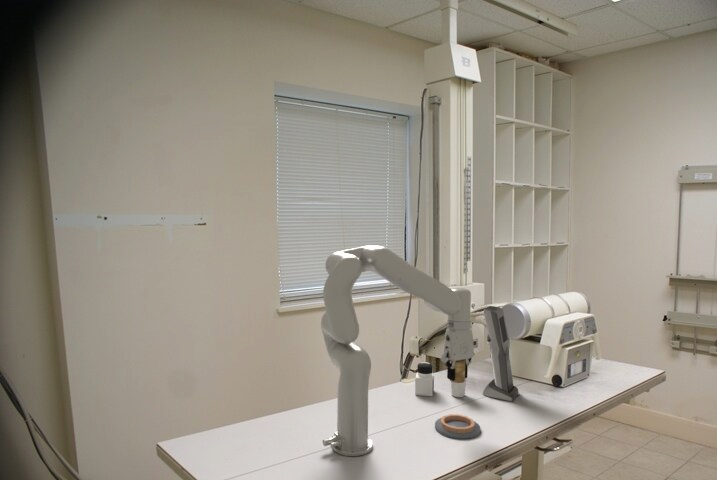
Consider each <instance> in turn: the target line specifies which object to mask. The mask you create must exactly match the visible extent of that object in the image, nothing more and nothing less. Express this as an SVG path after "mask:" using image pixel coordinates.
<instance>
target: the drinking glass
mask: <svg viewBox="0 0 717 480" xmlns="http://www.w3.org/2000/svg"><path fill="white" fill-rule="evenodd" d="M450 385H451V388H450V389H451V391H450V392H451V396H453V397H455V398H464V397H465V395H466V385H467V378H465V382H463V383H455V382H451V381H450Z"/></svg>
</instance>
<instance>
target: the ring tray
mask: <svg viewBox="0 0 717 480" xmlns="http://www.w3.org/2000/svg"><path fill="white" fill-rule="evenodd" d="M434 429H435V431H436V432H437V433H439V434H440V435H442V436H444V437H447V438H450V439H454V440H456V439H457V440H470V439H474V438H476V437H478V436H479V435H480V434H481V426H480V424H479V423H478V422H476V421H475V420H473V419H472V418H471V417H469V416H466V415H463V414H457V413H456V414H447V415H444V416H442V417H440V418H437V420H436V421H435V422H434Z"/></svg>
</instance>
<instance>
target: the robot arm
mask: <svg viewBox="0 0 717 480" xmlns="http://www.w3.org/2000/svg"><path fill="white" fill-rule="evenodd" d="M325 270H326V272H327V274H328V276H327V278H326V280H325V282H324V285H323V290H322V297H323V302H324V307H325V312H324V313H323V315H322V317H321V321H320V325H321V326H320V327H321V333H322V336H323V340H324V343H325V348H326V352H327V354H328V357H329V360H330V362H331V363H332V365H334V366H335V368H336V369H337V370H338V371H339V378H338V383H337V392H336V394H337V396H336V397H337V410H336V411H337V412H336V413H337V419H336V420H337V421H336V426H337V427H336V428H337V430H336V431H334V432H333V435H332V436H331V437H330V438H329V437H327V438H324V439H322V444H323V446H324V447H327V446H330V448H332V450H333V451H334V452H336V453H337V454H339V455H342V456H345V457H359V456H364V455H366V454H368V453H369V452H371V450H372V449H373V448H374V447H373V446H374V442H373V440H372V439H371V438H370V437H369V384H370V383H369V382H370V375H371V370H372V361H371V357H370V354H369V353H368V352H367V350H366V349H364V348H363V347H362V346H361V345H359V344H357V343H356V342H355V341H356V340H357V339H358V338H359V335H360V325H359V322H358V321H359V320H358V318H357V313H356V309H355V307H354V306H355V305H354V301H353V292H352V291H353V288H354V285H356V284H355V283H356V282H357V280H358V279H359V278H360V277H361V274H362V273H365V272H372V273H375V274H376V275H378V276H380V277H381V278H383V279H385V280H386V281H387V282H389V283H390V284H392V285H393V286H395V287H396V288H398V289H399V290H401V291H403V292H405V293H407V294H408V295H411V296H414V297H417V298H419V299H422V300H423V302H424V304H425V306H426V307H427V308H428V309H430V310H433V311H434V312H439V313H442V314H444V315H447V321H446V322H447V323H446V324H445V326H446V328H445V329H446V330H445V333H444V340H443V341H444V342H443V353H442V355H441V357H440V361H441V362H442V363H443V364H444V365H445V367H446V368H447V369H446V370H447V371H446V372H447V373H446V375H447V376H446V378H447V379H448V380H449V381H450V380H452V381H455V369H454V366H455V361H459V360H465V378H466V379H467V378H468V372H469V371H468V368H469V366H470V363H471V361H472V359H473V357H474V356H475V352H474V351H475V349H474V335H473V334H474V333H473V330H472V328H471V308H472V307H471V305H472V304H471V303H472V301H471V300H472V293H471V291H470V290H469V289H467V288H462V287H461V288H460V287H454V288H450V287H448V286H447V285H445V283H442V282H441V281H439V280H437V279H436V278H435V277H432V276H431V275H429V274H428V273H426V272H424V271H422V270H421V269H419V268H417V267H416V266H414V265H413V264H411V263H410V262H408V261H406V259H403V258H402V257H400V255H398V254H397V253H395V252H393V251H392V250H391V249H389V248H388V247H385V246H383V245H373V244H370V245H364V246H359V247H354V248H350V249H344V250H340V251H339V250H338V251H336V252H333V253H331V254H330V255H329V256H328V258H327V259H326V260H325ZM450 361H452V362H451V363H450Z"/></svg>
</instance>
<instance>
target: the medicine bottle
mask: <svg viewBox="0 0 717 480" xmlns="http://www.w3.org/2000/svg"><path fill="white" fill-rule="evenodd" d="M416 369H417V372H416V374H415V378H414V379H415V382H414V383H415V384H414V388H415V389H414V393H415V395H414V396H420V397H421V396H424V397H433V396H434V388H435V385H434V383H435V381H434V380H435V373H433V365H432V363H430V362H419V363H418V364H417V368H416Z"/></svg>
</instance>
